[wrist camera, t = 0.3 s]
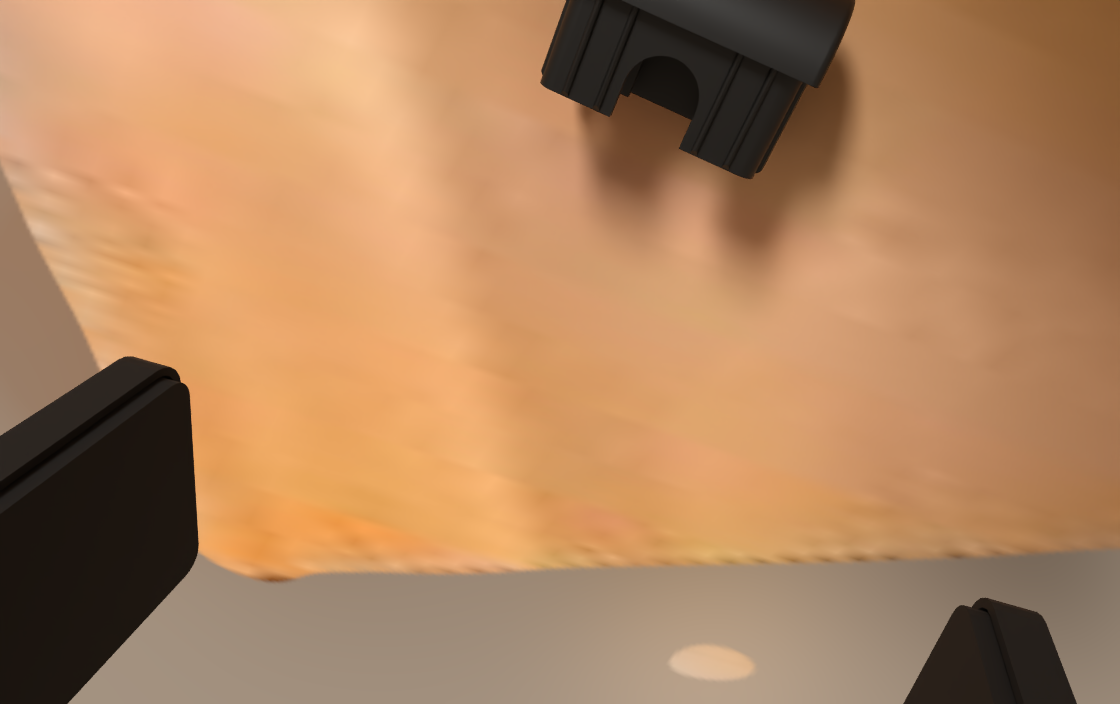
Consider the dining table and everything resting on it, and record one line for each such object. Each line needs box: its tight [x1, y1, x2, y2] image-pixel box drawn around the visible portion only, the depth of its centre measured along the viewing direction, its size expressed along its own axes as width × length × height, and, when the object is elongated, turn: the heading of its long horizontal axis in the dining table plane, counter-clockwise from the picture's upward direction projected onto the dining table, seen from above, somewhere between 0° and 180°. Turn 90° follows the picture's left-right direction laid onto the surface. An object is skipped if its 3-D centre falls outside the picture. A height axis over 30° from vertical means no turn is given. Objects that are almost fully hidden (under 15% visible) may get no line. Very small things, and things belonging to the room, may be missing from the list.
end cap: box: [540, 0, 855, 179], centre depth 32 cm, size 10×7×7 cm
